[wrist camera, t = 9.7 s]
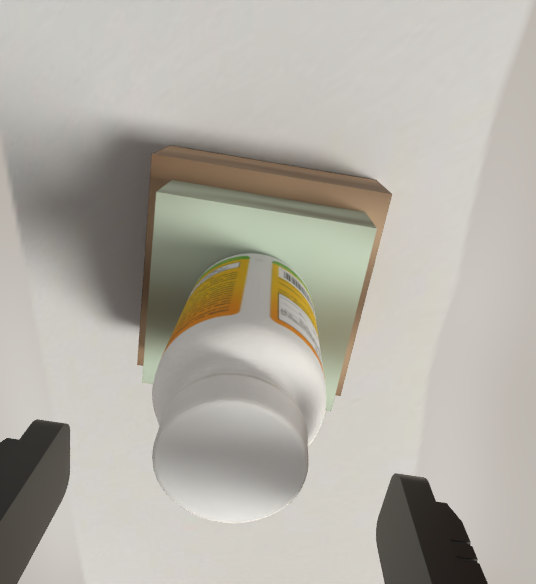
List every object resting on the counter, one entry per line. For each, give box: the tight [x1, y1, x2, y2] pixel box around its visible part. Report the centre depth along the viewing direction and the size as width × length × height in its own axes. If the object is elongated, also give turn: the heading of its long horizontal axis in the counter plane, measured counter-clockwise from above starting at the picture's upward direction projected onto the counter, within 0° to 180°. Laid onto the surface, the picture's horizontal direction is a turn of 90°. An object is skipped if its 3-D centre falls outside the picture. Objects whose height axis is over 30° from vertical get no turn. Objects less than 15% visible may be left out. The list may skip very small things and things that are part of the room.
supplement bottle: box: [152, 253, 326, 523], centre depth 17 cm, size 5×5×10 cm
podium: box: [137, 146, 392, 411], centre depth 25 cm, size 11×11×7 cm
